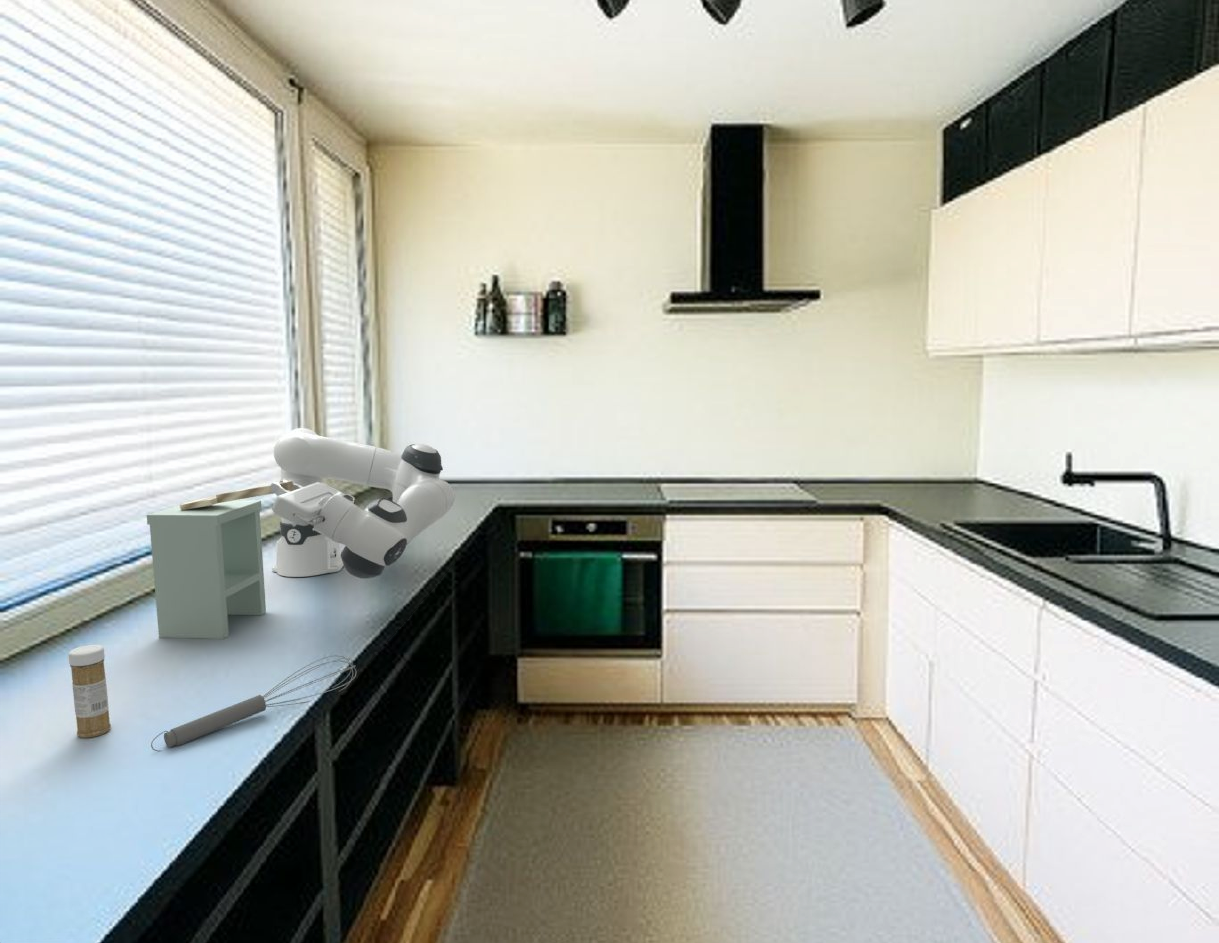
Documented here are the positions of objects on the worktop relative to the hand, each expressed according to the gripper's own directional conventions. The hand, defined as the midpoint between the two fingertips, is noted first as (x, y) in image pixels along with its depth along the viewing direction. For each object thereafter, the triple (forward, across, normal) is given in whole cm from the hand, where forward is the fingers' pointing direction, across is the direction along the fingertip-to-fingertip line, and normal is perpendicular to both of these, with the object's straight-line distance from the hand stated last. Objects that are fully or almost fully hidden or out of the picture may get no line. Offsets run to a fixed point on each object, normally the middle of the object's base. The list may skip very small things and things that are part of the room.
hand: (276, 484), depth 172 cm
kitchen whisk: (-31, -44, -18) cm, 57 cm away
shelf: (-2, 0, -35) cm, 35 cm away
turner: (+5, 0, -7) cm, 9 cm away
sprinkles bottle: (-11, -52, -30) cm, 61 cm away
